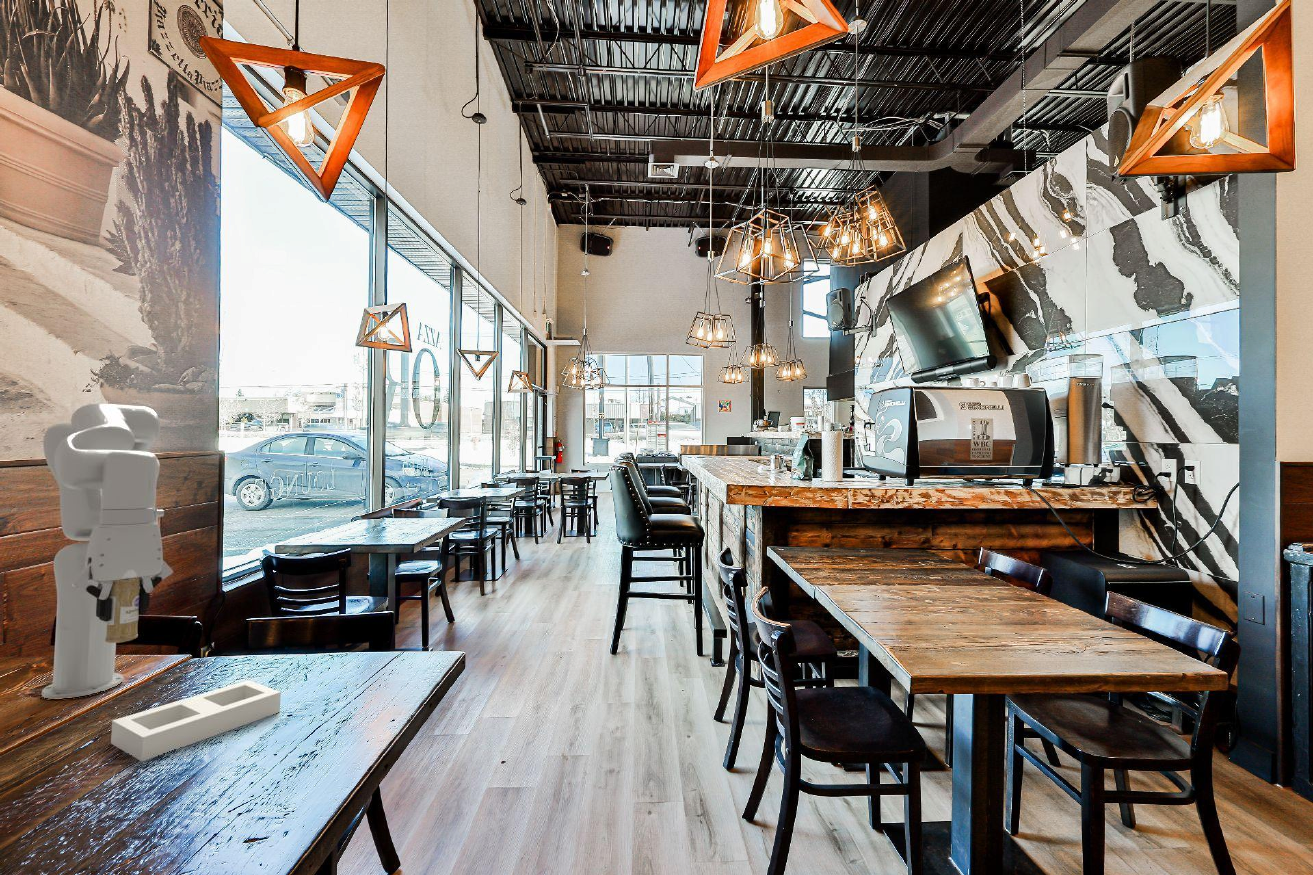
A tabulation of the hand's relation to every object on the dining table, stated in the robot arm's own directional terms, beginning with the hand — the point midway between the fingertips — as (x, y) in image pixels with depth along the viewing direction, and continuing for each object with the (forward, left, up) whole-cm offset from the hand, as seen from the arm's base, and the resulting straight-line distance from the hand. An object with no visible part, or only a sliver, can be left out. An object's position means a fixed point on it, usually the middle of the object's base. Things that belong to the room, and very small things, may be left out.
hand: (122, 615), depth 107 cm
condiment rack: (+10, +9, -21) cm, 25 cm away
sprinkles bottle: (0, 0, -5) cm, 5 cm away
